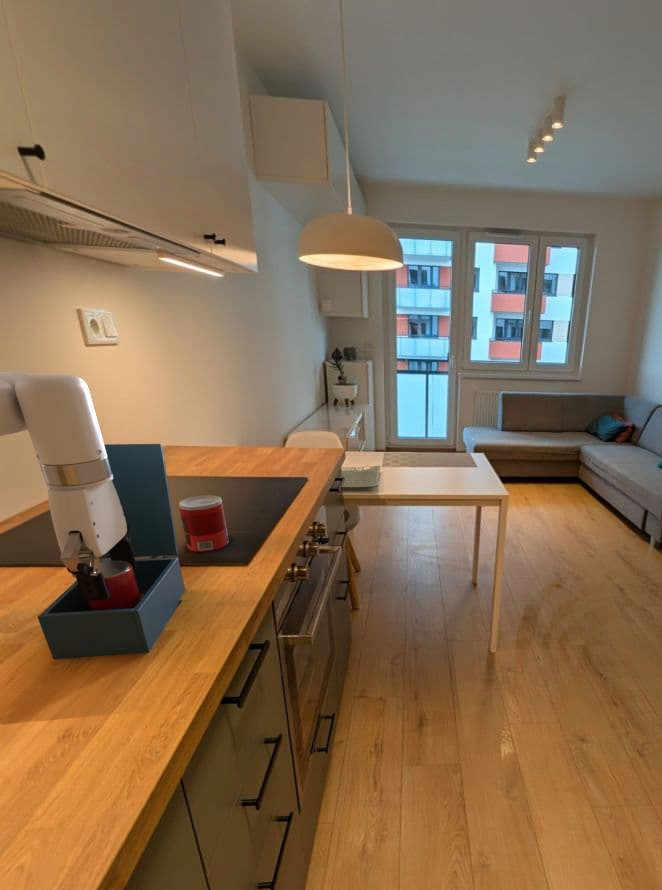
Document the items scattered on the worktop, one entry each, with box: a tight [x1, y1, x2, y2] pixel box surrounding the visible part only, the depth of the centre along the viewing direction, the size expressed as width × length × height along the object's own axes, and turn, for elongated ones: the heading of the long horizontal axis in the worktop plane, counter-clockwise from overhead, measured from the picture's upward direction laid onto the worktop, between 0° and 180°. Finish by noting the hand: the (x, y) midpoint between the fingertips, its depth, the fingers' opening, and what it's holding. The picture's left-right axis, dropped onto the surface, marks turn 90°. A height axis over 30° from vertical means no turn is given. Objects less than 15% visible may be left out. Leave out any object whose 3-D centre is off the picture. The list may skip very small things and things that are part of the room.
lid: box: [100, 443, 179, 560], centre depth 85 cm, size 18×13×5 cm
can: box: [87, 560, 142, 611], centre depth 77 cm, size 7×7×10 cm
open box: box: [37, 556, 186, 660], centre depth 79 cm, size 18×13×8 cm
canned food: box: [178, 494, 230, 553], centre depth 105 cm, size 8×8×11 cm
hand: (112, 583), depth 76 cm, fingers open, 9 cm apart
